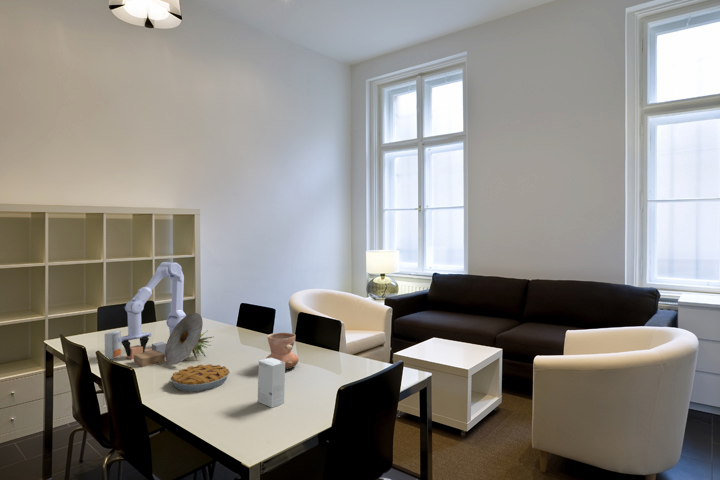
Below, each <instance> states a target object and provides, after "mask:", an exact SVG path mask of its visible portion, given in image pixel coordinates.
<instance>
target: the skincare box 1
mask: <svg viewBox="0 0 720 480" xmlns="http://www.w3.org/2000/svg"><path fill="white" fill-rule="evenodd" d="M119 337H122V331H117V330H113V331H109V332H107V333H104V357H105V356H106V357H108V358H109V359H108V360H114V359H116V358H119V357H121V356H122V343H121V342H118V338H119Z"/></svg>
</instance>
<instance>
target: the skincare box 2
mask: <svg viewBox="0 0 720 480" xmlns="http://www.w3.org/2000/svg"><path fill="white" fill-rule="evenodd" d="M266 358H267V357H266ZM266 358H264V359H259V360H258V370H257V371H258V372H257V374H258V376H257V378H258V379H257V402H258V404H259V403H260V404H263V405H264V406H267V407H269V408H275V407H277V406H280V405H282V404H285V389H286V388H285V386H286V385H285V383H286V382H285V381H286V379H285V378H286V370H285V362H282V361H280V360H277V359H274V358H267V359H266Z"/></svg>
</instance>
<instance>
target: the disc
mask: <svg viewBox="0 0 720 480" xmlns="http://www.w3.org/2000/svg"><path fill="white" fill-rule="evenodd" d="M203 323H204V322H203V317H202V316H201V314H199V312H191V313H189V314H186V316H185V317H184V318H183V319H182V320H181V321H180V322H179V323H178V324H177V325H176V327H175V328H174V330H173V331H172V333H171V335H170V334H169V336H168V339H167V341H166V348H165V362H167V364H169V365H173V366H174V365H177V364H180V363H181V362H182V361H184V360H186V358H187V357H189V356H191V355H192V354H193V356H194V358H195V359H196V361H198V357H201V354H202V356H203V357H204V358H207V356H206V354H205V351H204V349H206V348H208V346H212V344H207V343H210V342H212V341H211V340H208V339H212V338H213V336H209V337H208V336H206V337H203V336H204V335H205V334H206V333H207V332H209V330H208V329H207V330H206V331H205V332H203V333H202V330H203V326H204V325H203ZM203 348H204V349H203Z"/></svg>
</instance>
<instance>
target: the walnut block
mask: <svg viewBox="0 0 720 480" xmlns="http://www.w3.org/2000/svg"><path fill="white" fill-rule="evenodd" d="M165 362H166V359H165V354H164V353H161V352H159V351H157V350H153V351H149V352H144V353H139V354H134V359H133V363H135V364H136V365H137V366H139V367H142V368H143V367H149V366H153V365H157V364H163V363H165Z"/></svg>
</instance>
